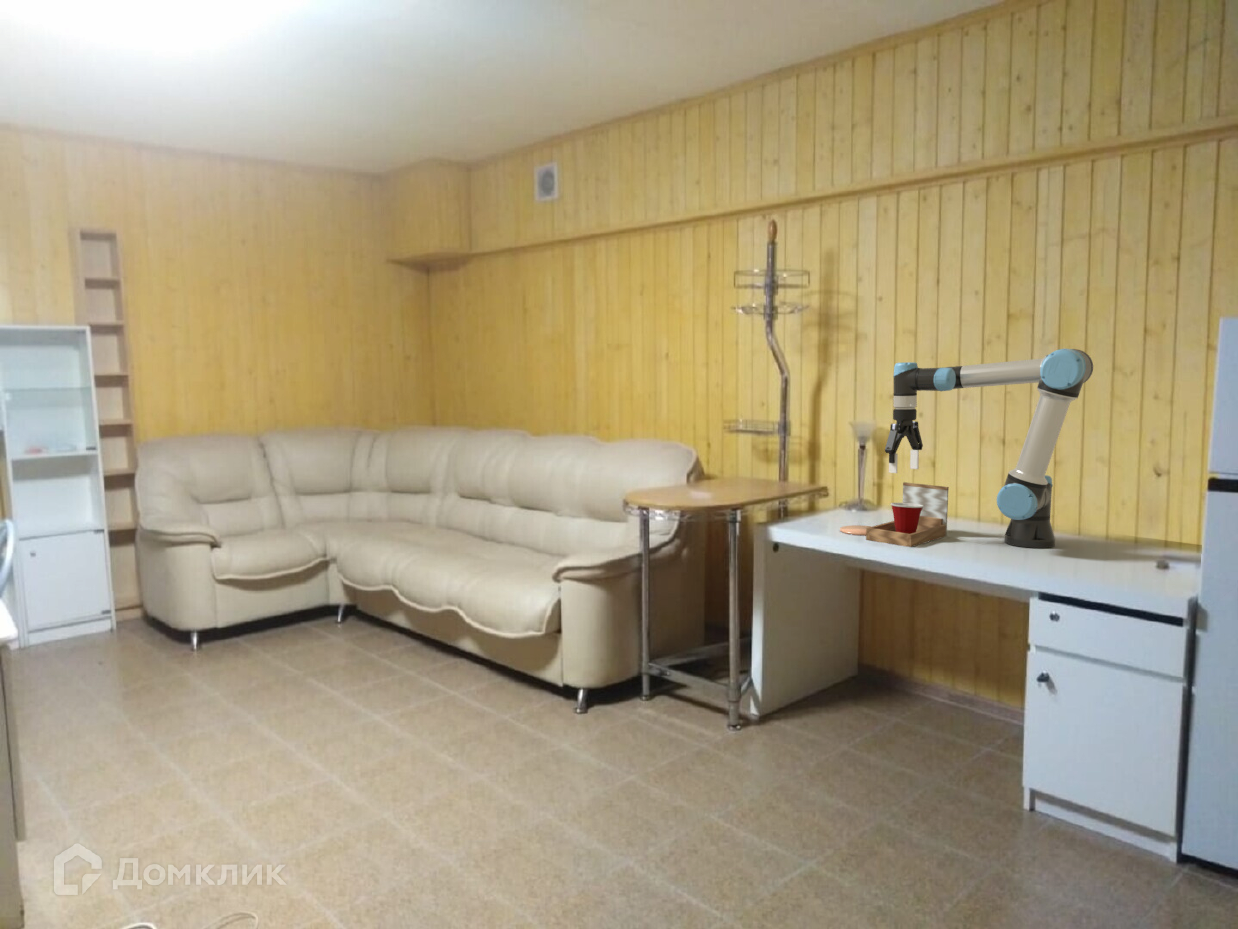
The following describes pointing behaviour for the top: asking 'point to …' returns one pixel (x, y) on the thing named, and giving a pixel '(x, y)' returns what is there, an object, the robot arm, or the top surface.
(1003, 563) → the top surface
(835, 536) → the top surface
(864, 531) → the saucer
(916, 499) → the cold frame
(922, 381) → the robot arm
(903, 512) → the plastic cup
